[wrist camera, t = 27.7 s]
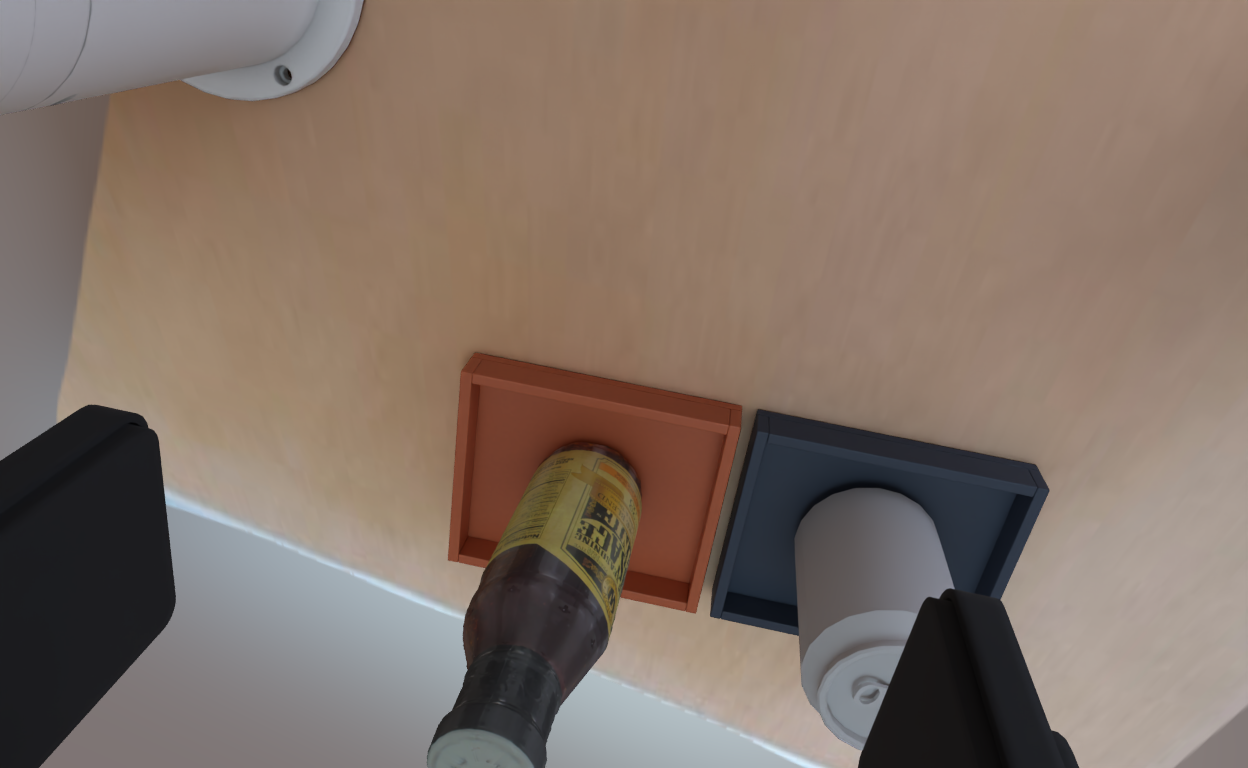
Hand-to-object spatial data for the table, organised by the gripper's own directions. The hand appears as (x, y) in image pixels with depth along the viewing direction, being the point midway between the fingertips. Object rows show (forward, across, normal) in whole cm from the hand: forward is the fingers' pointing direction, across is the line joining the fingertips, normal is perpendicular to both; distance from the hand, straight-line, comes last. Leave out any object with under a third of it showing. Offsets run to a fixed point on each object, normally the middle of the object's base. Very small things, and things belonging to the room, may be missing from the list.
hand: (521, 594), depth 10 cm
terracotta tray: (+32, +2, +19) cm, 38 cm away
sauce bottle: (+32, +2, +19) cm, 37 cm away
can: (+32, -13, +19) cm, 39 cm away
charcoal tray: (+32, -13, +19) cm, 40 cm away
